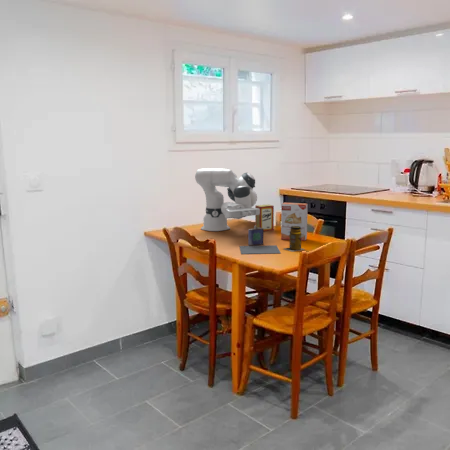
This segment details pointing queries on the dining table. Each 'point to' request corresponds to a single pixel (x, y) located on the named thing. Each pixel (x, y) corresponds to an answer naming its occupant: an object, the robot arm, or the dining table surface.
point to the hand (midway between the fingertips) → (249, 214)
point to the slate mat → (260, 249)
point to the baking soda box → (265, 217)
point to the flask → (255, 236)
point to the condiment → (295, 239)
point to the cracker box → (293, 219)
